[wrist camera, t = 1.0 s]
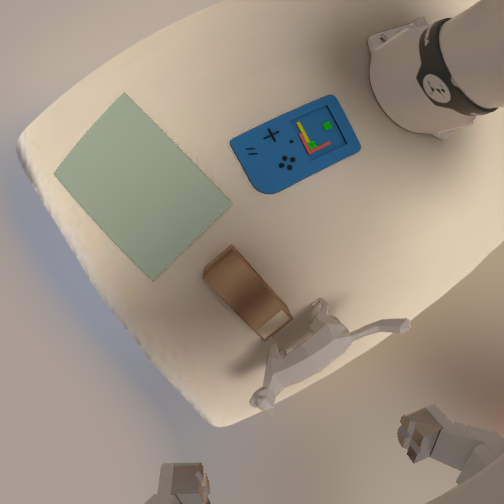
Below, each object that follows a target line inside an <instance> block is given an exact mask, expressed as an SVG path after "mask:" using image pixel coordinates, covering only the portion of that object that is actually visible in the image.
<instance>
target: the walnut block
mask: <svg viewBox="0 0 504 504" xmlns="http://www.w3.org/2000/svg"><path fill="white" fill-rule="evenodd" d="M203 279H204V280H205V281H206V282H207V283H208V284H209V285H210V286H211V287H212V289H213V290H214V291H215V292H216V293H217V294H218V295H219V296H220V297H221V298H222V299H223V300H224V301H225V302H226V303H227V304H228V305H229V306H230V307H231V308H232V309H233V310H234V311H235V312H236V313H237V314H238V315H239V316H240V317H241V318H242V319H243V320H244V321H245V322H246V323H247V324H248V325H249V326H250V327H251V328H252V329H253V330H254V331H255V332H256V333H257V334H258V335H259V336H260V337H261V338H262V339H263V340H264V341H266V340H267V339H269V338H270V337H271V336H272V335H274V334H275V333H276V332H278V331H279V330H280V329H281V328H283V327H284V326H285V325H286V324H288V323H289V322H290V321H291V320H293V317H292V316H291V314H290V312H289V310H288V308H287V306H286V305H285V303H284V302H283V301H282V300H281V299H280V298H279V297H278V296H277V294H276V293H275V292H274V291H273V290H272V289H271V288H270V287H269V286H268V284H267V283H266V282H265V281H264V280H263V279H262V278H261V277H260V275H259V274H258V273H257V272H256V271H255V270H254V269H253V268H252V267H251V265H250V264H249V263H248V262H247V261H246V260H245V259H244V258H243V256H242V255H241V254H240V253H239V252H238V251H237V250H236V249H235V247H234V246H233V245H230V246H229V247H228V248H227V249H226V250H225V251H223V252H222V253H221V254H220V255H219V256H218V257H216V258H215V259H214V260H213V261H212V262H211V263H210V264H208V265H207V266H206V267H205V269H204V274H203Z"/></svg>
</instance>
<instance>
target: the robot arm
mask: <svg viewBox="0 0 504 504" xmlns="http://www.w3.org/2000/svg"><path fill="white" fill-rule="evenodd" d="M381 39H382V40H383V42H382V41H381ZM368 46H369V50H370V53H371V63H370V81H371V86H372V89H373V92H374V94H375V97H376V99H377V101H378V102H379V104H380V106H381V107H382V109H383V110H384V111H385V113H386V114H387V115H388V116H389V117H390V118H391V119H392V120H393V121H394V122H395V123H397V124H398V125H399V126H401V127H402V128H404V129H406V130H408V131H411V132H415V133H428V134H432V135H433V136H435V137H437V138H439V139H442V140H444V139H447V138H449V137H450V135H451V133H452V131H453V129H457V128H461V127H465V126H469V125H471V124H473V120H474V119H475V117H476V115H484V114H488V113H489V112H493V111H495V110H496V109H498V107H504V0H480V1H478V2H477V3H475V4H474V5H473V6H471V7H470V8H468V9H467V10H465V11H464V12H462V13H460V14H459V15H457V16H455V17H453V18H446V19H443V20H439V21H437V22H435V23H432V22H430V21H428V20H426V18H425V17H420V18H418V19H416V20H414V21H413V23H410V24H408V25H405V26H401V27H397V28H394V29H390V30H387V31H384V32H380V33H377V34H374V35H372V36H370V37H369V38H368ZM400 422H401V424H402V425H401V426H400V427H399V429H398V433H397V434H398V440H399V443H400V444H401V446H402V447H403V448H406V449H408V452H407V455H408V456H409V458H410V459H411V461H412V462H413V463H416V462H419V461H421V460H423V459H425V458H427V457H431V458H433V459H435V460H437V461H440V462H442V463H444V464H447V465H449V466H451V467H453V468H456V469H458V470H460V471H462V472H461V474H460V475H459V477H458V478H457V481H456V482H457V484H458V486H456V487H455V488H453V489H451V490H450V491H448V492H446V493H444V494H443V495H441V496H439V497H437V498H436V499H433V500H432V501H430V502H428V503H426V504H504V439H503V438H502V437H501V436H500V435H499V434H498V433H497V432H494V431H490V430H486V429H482V428H477V427H473V426H470V425H466V424H462V423H458V422H454V423H452V422H451V420H449V419H448V417H447V416H446V415H445V414H444V413H443V412H442V411H441V410H440V409H439V408H438V407H437V406H436V405H435V404H434V403H430V404H428V405H426V406H424V407H421V408H419V409H416V410H415V411H412V412H410V413H407V414H405V415H403V416H402V417H401V420H400ZM209 494H210V486H209V480H208V477H207V475H206V473H204V472H203V465H202V463H201V462H200V463H163V464H162V466H161V471H160V478H159V486H158V493H157V494H154V495H153V496H152V497H151V498H150V499H149V500H148V501H147V502H146V503H145V504H210V500H209V498H208V495H209Z"/></svg>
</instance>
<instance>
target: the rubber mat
mask: <svg viewBox="0 0 504 504" xmlns="http://www.w3.org/2000/svg"><path fill="white" fill-rule="evenodd" d="M54 175H55V176H56V177H57V178H58V180H59V181H60V182H61V183H62V185H63V186H64V187H65V188H66V189H67V190H68V192H69V193H70V194H71V195H72V196H73V197H74V199H75V200H76V201H77V202H78V203H79V204H80V206H81V207H82V208H83V209H84V210H85V211H86V212H87V214H88V215H89V216H90V217H91V218H92V219H93V220H94V221H95V222H96V224H97V225H98V226H99V227H100V228H101V229H102V230H103V231H104V232H105V233H106V234H107V235H108V237H109V238H110V239H111V240H112V241H113V242H114V243H115V244H116V245H117V246H118V247H119V248H120V249H121V250H122V251H123V252H124V253H125V254H126V255H127V256H128V257H129V258H130V259H131V261H132V262H133V263H134V264H135V265H136V266H137V267H138V268H139V269H140V270H141V271H142V272H143V273H144V274H145V275H146V276H147V277H148V278H150V279H151V280H152V281H154V280H155V279H156V278H157V277H158V276H159V275H160V274H161V273H162V272H163V271H164V270H165V269H166V268H167V267H168V266H169V265H170V264H171V263H172V262H173V261H174V260H175V259H176V258H177V257H178V256H179V255H180V254H181V253H182V252H183V251H184V250H185V249H186V248H187V247H188V246H189V245H190V244H191V243H192V242H193V241H194V240H195V239H196V238H197V237H198V236H199V235H201V234H202V233H203V232H204V231H205V230H206V229H207V228H208V227H209V226H210V225H211V224H212V223H213V222H214V221H215V220H216V219H217V218H218V217H219V216H220V215H221V214H222V213H224V212H225V211H226V210H227V209H228V208H229V207H230V206H231V205H232V204H233V203H232V202H231V201H230V200H229V199H228V198H227V197H226V196H225V195H224V194H223V193H222V192H221V191H220V190H219V189H218V188H217V187H216V185H215V184H214V183H213V182H212V181H211V180H210V179H209V178H208V177H207V176H206V175H205V174H204V173H203V172H202V171H201V170H200V169H199V168H198V167H197V166H196V165H195V164H194V163H193V161H192V160H191V159H190V158H189V157H188V156H187V155H186V154H185V153H184V152H183V151H182V150H181V149H180V148H179V147H178V146H177V145H176V144H175V143H174V142H173V141H172V140H171V139H170V138H169V137H168V136H167V135H166V134H165V133H164V132H163V131H162V130H161V129H160V128H159V127H158V126H157V124H156V123H155V122H154V121H153V120H152V119H151V118H150V117H149V116H148V115H147V114H146V113H145V112H144V111H143V110H142V109H141V108H140V107H139V106H138V105H137V104H136V103H135V102H134V101H133V100H132V99H131V98H130V97H129V96H128V95H127V94H126V93H125V92H124V93H123V94H122V95H121V96H120V97H119V98H118V99H117V100H116V101H115V102H114V103H113V104H112V105H111V106H110V107H109V108H108V109H107V111H106V112H105V113H104V114H103V115H102V116H101V117H100V118H99V119H98V120H97V121H96V122H95V123H94V125H93V126H92V127H91V128H90V129H89V130H88V131H87V132H86V134H85V135H84V136H83V137H82V138H81V139H80V141H79V142H78V143H77V144H76V145H75V147H74V148H73V149H72V150H71V152H70V153H69V154H68V155H67V157H66V158H65V159H64V160H63V162H62V163H61V164H60V166H59V167H58V168H57V169H56V171H55V172H54Z"/></svg>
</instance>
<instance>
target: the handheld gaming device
mask: <svg viewBox="0 0 504 504" xmlns="http://www.w3.org/2000/svg"><path fill="white" fill-rule="evenodd" d="M230 145H231V147H232V148H233V150H234V152H235V154H236V156H237V158H238V159H239V161H240V163H241V165H242V167H243V169H244V171H245V172H246V174H247V176H248V178H249V180H250V182H251V183H252V185H253V186H254V187H255V188H256V189H257V190H258V191H260V192H262V193H266V194H274V193H277V192H279V191H281V190H283V189H285V188H287V187H289V186H291V185H293V184H295V183H297V182H299V181H301V180H303V179H305V178H307V177H308V176H310V175H312V174H314V173H316V172H318V171H320V170H322V169H324V168H326V167H328V166H330V165H332V164H334V163H336V162H338V161H340V160H342V159H344V158H346V157H349V156H351V155H353V154H355V153H357V152H359V151H360V148H361V146H360V143H359V141H358V139H357V137H356V135H355V133H354V131H353V129H352V127H351V125H350V123H349V121H348V119H347V117H346V115H345V113H344V111H343V109H342V108H341V106H340V104H339V102H338V100H337V98H336V97H335V96H333V95H328V96H325V97H323V98H320V99H318V100H316V101H313V102H311V103H308V104H306V105H304V106H301V107H299V108H297V109H294V110H292V111H290V112H288V113H285V114H283V115H281V116H279V117H277V118H274V119H272V120H270V121H268V122H266V123H264V124H262V125H260V126H257V127H255V128H253V129H251V130H249V131H247V132H245V133H243V134H241V135H239V136H237V137H235V138H233V139H232V140H231V142H230Z"/></svg>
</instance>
